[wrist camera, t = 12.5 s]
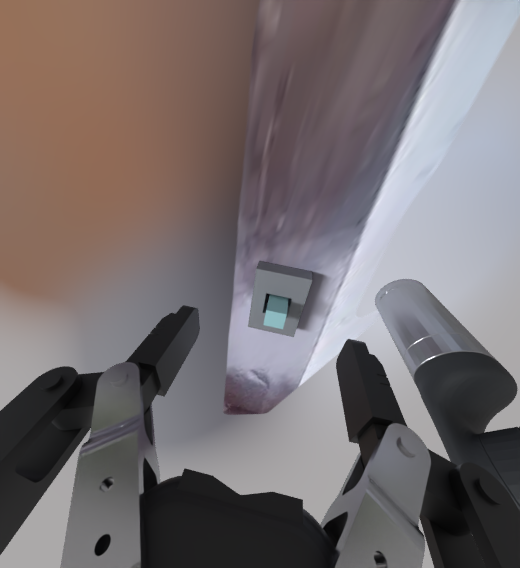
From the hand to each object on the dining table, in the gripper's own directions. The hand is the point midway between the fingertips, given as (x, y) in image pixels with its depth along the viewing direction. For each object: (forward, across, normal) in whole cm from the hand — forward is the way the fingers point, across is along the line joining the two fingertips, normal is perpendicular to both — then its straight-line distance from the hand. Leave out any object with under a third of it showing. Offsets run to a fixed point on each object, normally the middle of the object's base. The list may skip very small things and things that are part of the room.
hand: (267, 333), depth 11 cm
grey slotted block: (+29, -1, +19) cm, 35 cm away
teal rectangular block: (+29, -1, +19) cm, 35 cm away
